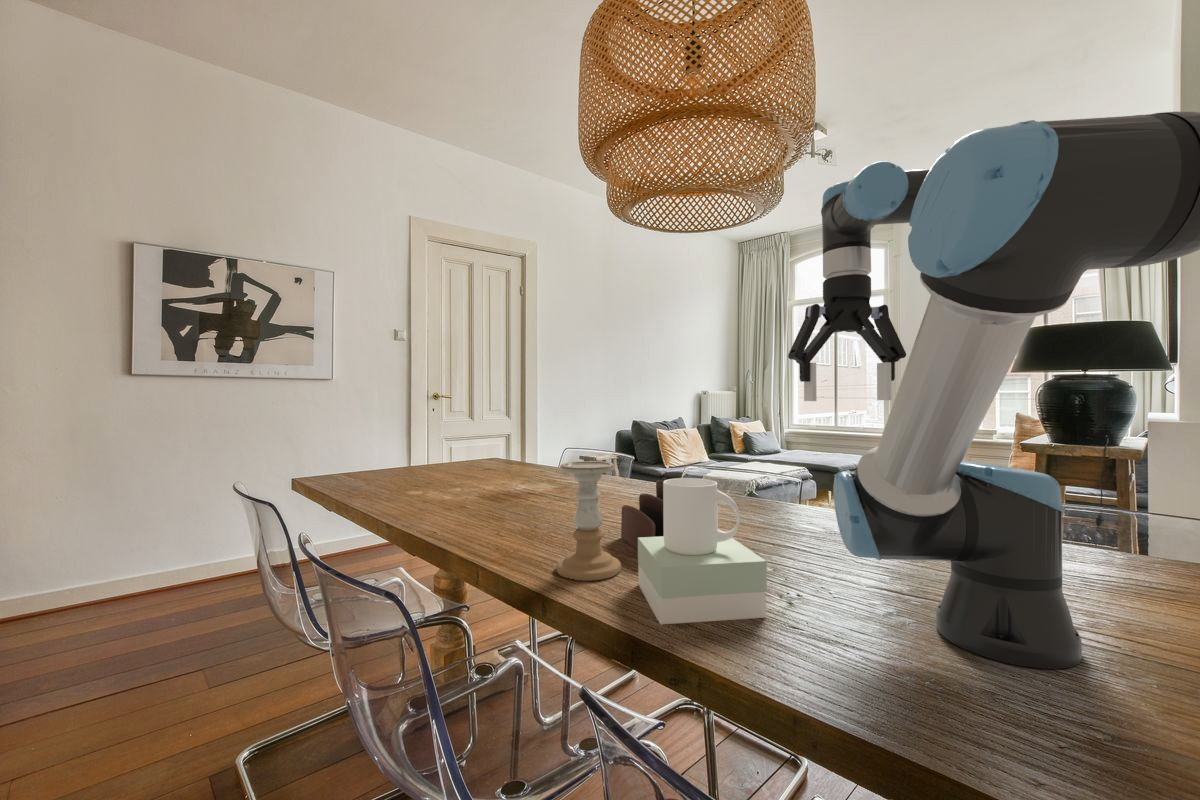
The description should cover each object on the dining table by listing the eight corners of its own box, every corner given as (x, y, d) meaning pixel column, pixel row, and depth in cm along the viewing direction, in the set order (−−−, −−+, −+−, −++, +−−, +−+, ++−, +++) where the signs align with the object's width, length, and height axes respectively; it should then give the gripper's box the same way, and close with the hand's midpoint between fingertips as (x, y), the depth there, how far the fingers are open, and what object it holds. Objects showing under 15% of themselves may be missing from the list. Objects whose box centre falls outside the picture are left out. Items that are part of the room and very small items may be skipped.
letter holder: (660, 534, 124) (659, 475, 124) (698, 559, 105) (698, 489, 105) (620, 538, 121) (619, 478, 121) (652, 564, 102) (652, 492, 102)
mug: (738, 560, 77) (738, 488, 77) (659, 553, 81) (658, 485, 81) (740, 544, 86) (740, 479, 86) (668, 539, 89) (668, 477, 89)
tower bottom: (765, 622, 77) (765, 591, 77) (660, 629, 75) (659, 598, 75) (726, 583, 93) (726, 558, 93) (638, 588, 91) (638, 562, 91)
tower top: (766, 591, 77) (766, 561, 77) (661, 598, 75) (661, 567, 75) (725, 558, 93) (725, 533, 93) (637, 563, 91) (637, 537, 91)
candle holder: (622, 581, 93) (621, 468, 92) (553, 582, 93) (552, 469, 92) (619, 559, 105) (618, 459, 105) (558, 560, 105) (557, 460, 105)
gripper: (898, 283, 95) (899, 399, 95) (767, 281, 92) (768, 401, 92) (929, 273, 87) (930, 399, 87) (787, 271, 84) (789, 401, 84)
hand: (847, 400), depth 90 cm, fingers open, 13 cm apart
